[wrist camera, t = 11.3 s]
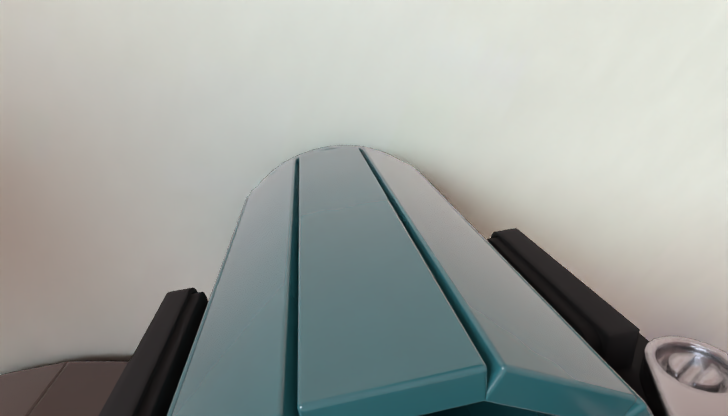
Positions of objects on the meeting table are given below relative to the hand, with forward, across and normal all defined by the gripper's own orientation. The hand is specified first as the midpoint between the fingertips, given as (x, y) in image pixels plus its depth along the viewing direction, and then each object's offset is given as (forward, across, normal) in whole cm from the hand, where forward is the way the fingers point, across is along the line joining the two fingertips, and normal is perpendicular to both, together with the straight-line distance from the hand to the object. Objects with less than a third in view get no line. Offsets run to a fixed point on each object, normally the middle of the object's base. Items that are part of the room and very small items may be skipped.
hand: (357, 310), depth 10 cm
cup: (+3, 0, 0) cm, 3 cm away
